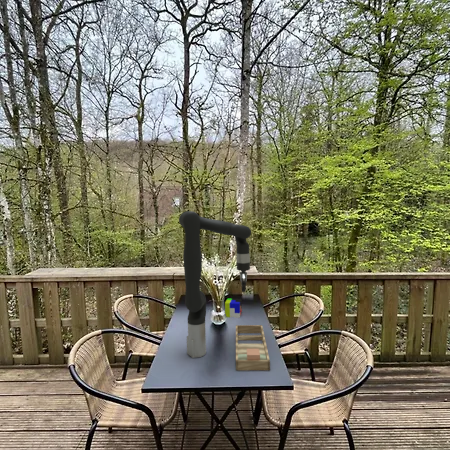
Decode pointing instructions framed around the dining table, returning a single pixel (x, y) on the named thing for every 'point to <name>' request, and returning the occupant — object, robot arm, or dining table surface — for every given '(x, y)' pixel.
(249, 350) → the block
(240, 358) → the trap lane
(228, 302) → the puzzle toy
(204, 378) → the dining table surface
